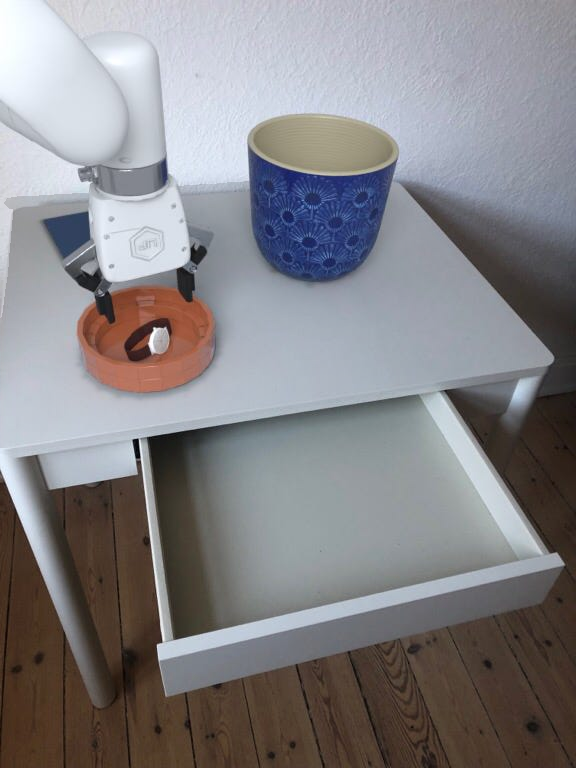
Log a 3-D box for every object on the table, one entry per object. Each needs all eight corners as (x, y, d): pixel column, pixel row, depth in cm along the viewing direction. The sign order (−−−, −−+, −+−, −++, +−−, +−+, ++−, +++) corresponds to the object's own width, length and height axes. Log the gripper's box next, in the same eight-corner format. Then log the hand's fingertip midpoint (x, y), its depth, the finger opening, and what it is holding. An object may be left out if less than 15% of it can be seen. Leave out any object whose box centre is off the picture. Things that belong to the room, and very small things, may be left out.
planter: (290, 216, 109) (298, 102, 96) (399, 256, 102) (423, 137, 89) (218, 268, 96) (216, 143, 83) (336, 317, 89) (355, 189, 76)
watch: (147, 371, 77) (144, 348, 75) (115, 358, 79) (111, 335, 76) (181, 337, 82) (180, 314, 80) (151, 325, 84) (149, 303, 81)
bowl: (106, 412, 73) (100, 383, 70) (67, 331, 83) (61, 303, 80) (235, 371, 79) (236, 343, 76) (185, 301, 89) (183, 274, 86)
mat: (67, 264, 94) (66, 262, 94) (43, 221, 103) (43, 219, 103) (180, 240, 101) (180, 237, 101) (150, 202, 110) (149, 199, 110)
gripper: (54, 203, 59) (85, 344, 71) (223, 171, 66) (226, 305, 78) (35, 170, 64) (67, 308, 76) (195, 143, 70) (201, 273, 82)
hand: (148, 306), depth 77 cm, fingers open, 9 cm apart
